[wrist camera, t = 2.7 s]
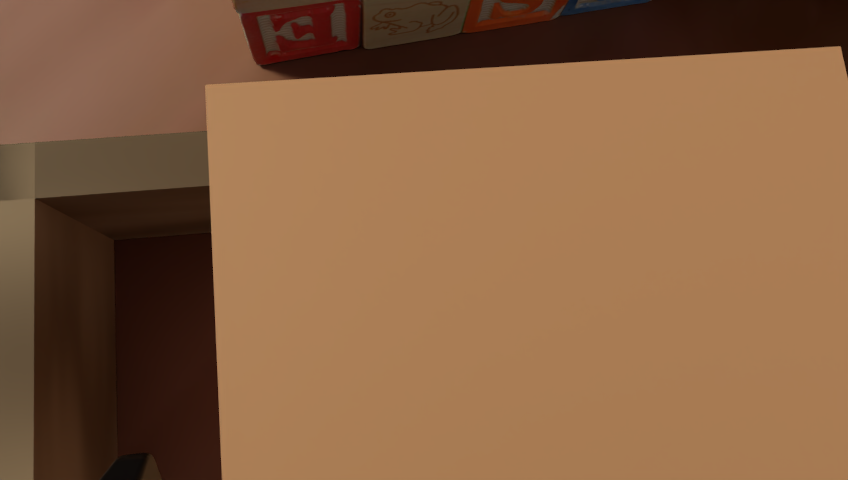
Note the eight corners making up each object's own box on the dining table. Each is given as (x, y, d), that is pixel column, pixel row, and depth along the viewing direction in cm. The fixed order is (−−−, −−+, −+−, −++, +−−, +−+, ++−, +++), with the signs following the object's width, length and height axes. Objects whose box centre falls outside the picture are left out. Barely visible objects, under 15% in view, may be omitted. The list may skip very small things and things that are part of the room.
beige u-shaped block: (776, 459, 19) (899, 485, 14) (68, 542, 17) (-36, 598, 13) (720, 152, 20) (815, 90, 16) (67, 200, 19) (-26, 146, 14)
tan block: (531, 468, 18) (993, 735, 5) (340, 489, 18) (238, 856, 4) (508, 280, 19) (841, 45, 6) (326, 296, 19) (206, 85, 5)
